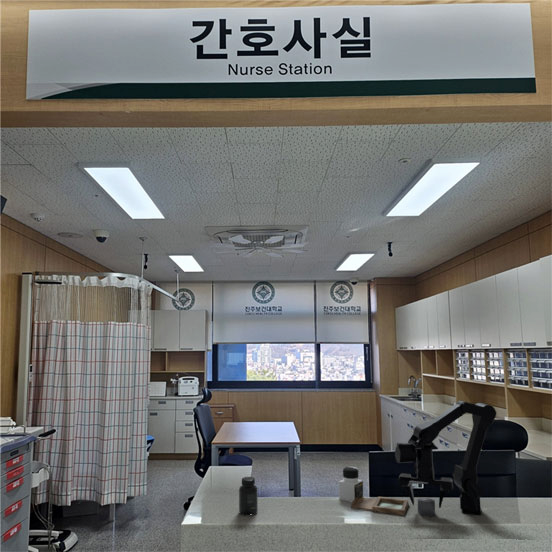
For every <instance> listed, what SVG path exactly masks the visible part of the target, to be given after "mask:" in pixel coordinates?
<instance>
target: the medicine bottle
mask: <svg viewBox="0 0 552 552" xmlns="http://www.w3.org/2000/svg"><path fill="white" fill-rule="evenodd" d="M342 478H343V479H341V480H339V481H338V496H339V497H338V499H339V500H342V501H346V502H351V503H352V502H353V500H354V499H355V498H356V497H358V496H359V498H361V497H364V481H363V479H359V469H358V468H357V467H356V466H355V467H354V466H346V467H344V468H343V469H342Z"/></svg>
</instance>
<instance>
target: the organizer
mask: <svg viewBox="0 0 552 552" xmlns="http://www.w3.org/2000/svg"><path fill="white" fill-rule="evenodd" d="M408 506H409V500H408V499H403V498H402V499H400V498H393V497H385V496H377V498H371V497H369V498H368V497H364V496H363V497H361V498H359V496H358V497H356V498H355V499H354V500H353V502H351V504H350V508H351V509H353V510H361V509H363V510H362V511H368V510H371V511H370V512H376V511H378V512H377V513H385V514H392V515H399V516H405V515H406V512H407V510H408Z"/></svg>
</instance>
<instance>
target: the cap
mask: <svg viewBox="0 0 552 552" xmlns="http://www.w3.org/2000/svg"><path fill="white" fill-rule="evenodd" d="M417 514H418V515H420V516H422V517H428V518H431V517H435V516H436V501H435V499H432V498H429V497H419V498H417Z"/></svg>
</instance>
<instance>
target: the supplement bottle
mask: <svg viewBox="0 0 552 552" xmlns="http://www.w3.org/2000/svg"><path fill="white" fill-rule="evenodd" d="M258 503H259V501H258V487H257V485H256V478H255V477H253V476H244V477H242V478H241V485H240V487H239V489H238V513H239V512H240V513H241V514H240V513H239V514H240V515H242V514H244V515H243V516H246V515H250V514H254V513H256V512H257V513H258V509H259V508H258ZM257 513H256V514H257ZM254 515H255V514H254ZM250 516H251V515H250Z"/></svg>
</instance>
